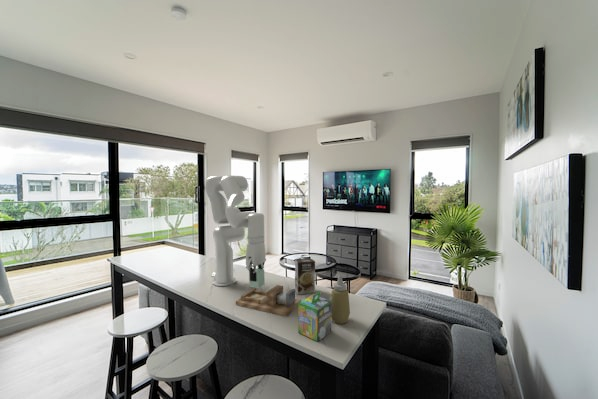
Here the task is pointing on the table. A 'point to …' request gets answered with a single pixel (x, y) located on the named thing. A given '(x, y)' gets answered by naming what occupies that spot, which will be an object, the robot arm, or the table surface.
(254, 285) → the spacer block
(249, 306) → the jig
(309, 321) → the chalk box
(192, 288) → the table surface
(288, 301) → the grey rectangular box
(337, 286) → the squeeze bottle
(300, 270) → the coffee box
